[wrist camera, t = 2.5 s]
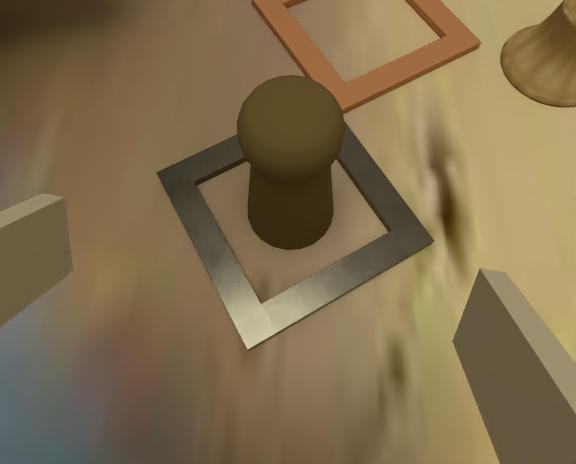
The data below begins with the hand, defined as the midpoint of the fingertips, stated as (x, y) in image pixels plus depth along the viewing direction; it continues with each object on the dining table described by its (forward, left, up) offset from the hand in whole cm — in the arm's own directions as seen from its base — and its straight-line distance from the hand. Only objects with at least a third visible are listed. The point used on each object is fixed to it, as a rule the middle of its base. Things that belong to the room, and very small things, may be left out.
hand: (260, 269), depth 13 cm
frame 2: (-7, +5, -13) cm, 16 cm away
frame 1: (-19, +19, -13) cm, 30 cm away
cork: (-7, +5, -13) cm, 16 cm away
